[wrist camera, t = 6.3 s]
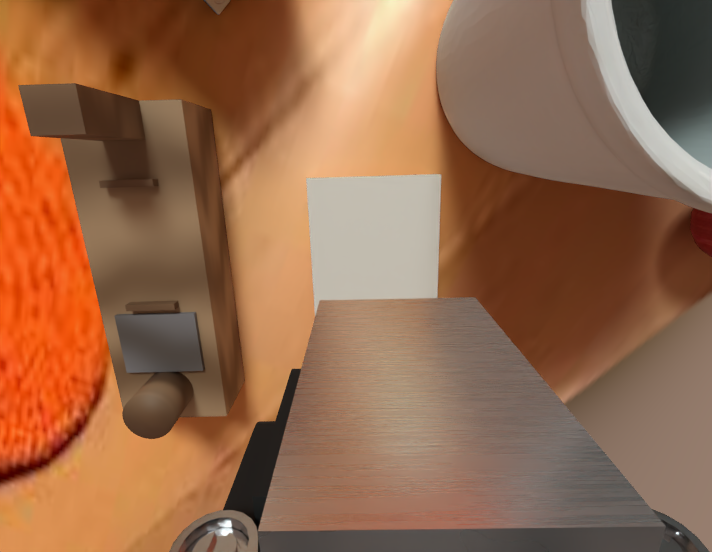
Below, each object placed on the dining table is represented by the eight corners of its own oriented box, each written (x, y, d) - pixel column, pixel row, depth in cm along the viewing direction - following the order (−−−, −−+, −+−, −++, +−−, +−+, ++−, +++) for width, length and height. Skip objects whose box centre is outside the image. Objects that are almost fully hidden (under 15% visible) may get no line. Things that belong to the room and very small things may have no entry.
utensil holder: (711, 62, 25) (1468, -145, 8) (526, 229, 28) (787, 336, 11) (570, -145, 22) (1296, -1177, 5) (379, 67, 25) (430, -126, 8)
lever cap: (319, 300, 10) (240, 596, 3) (475, 297, 10) (721, 591, 3) (329, 486, 12) (290, 929, 5) (461, 484, 12) (602, 929, 5)
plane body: (104, 113, 25) (-37, 86, 16) (210, 109, 25) (130, 81, 16) (157, 382, 31) (75, 474, 22) (244, 380, 31) (198, 471, 22)
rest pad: (307, 178, 27) (306, 178, 26) (439, 174, 27) (441, 174, 26) (316, 326, 30) (315, 329, 29) (434, 323, 30) (436, 326, 29)
